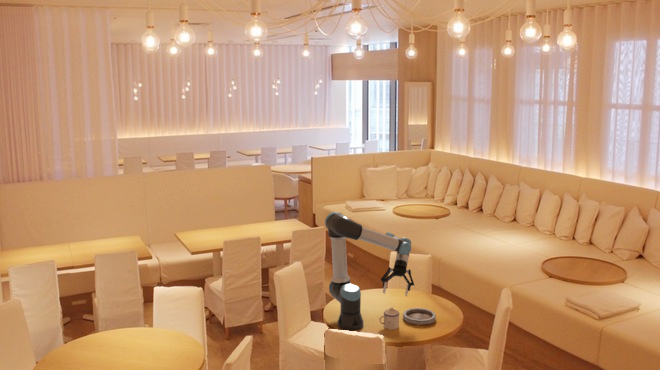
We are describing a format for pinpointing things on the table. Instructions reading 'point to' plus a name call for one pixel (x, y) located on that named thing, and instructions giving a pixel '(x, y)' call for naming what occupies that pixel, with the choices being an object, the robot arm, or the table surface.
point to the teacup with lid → (390, 319)
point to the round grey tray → (419, 316)
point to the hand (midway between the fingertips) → (394, 294)
